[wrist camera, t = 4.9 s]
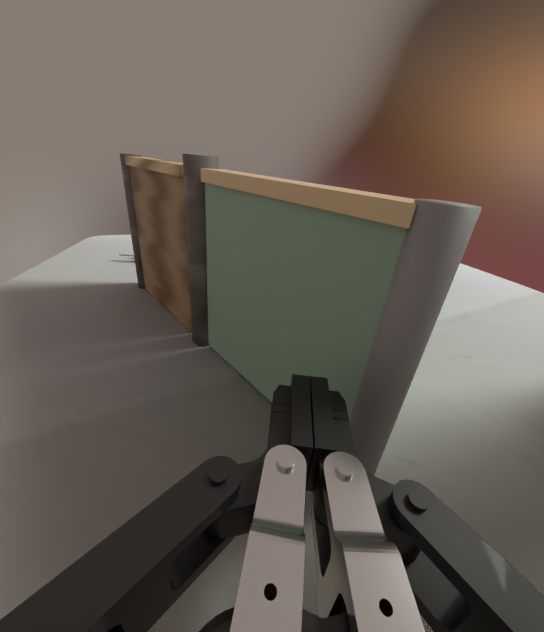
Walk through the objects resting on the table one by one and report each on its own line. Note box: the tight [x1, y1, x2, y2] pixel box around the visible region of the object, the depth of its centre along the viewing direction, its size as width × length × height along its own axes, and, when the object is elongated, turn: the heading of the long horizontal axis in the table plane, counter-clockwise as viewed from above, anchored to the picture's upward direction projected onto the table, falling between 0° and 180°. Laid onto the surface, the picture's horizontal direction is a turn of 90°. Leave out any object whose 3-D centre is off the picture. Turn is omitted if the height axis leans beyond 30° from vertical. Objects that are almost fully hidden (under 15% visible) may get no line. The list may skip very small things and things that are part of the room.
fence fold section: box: [201, 168, 482, 476], centre depth 17 cm, size 16×2×14 cm, turn 41°
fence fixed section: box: [120, 154, 218, 346], centre depth 28 cm, size 17×2×15 cm, turn 41°
